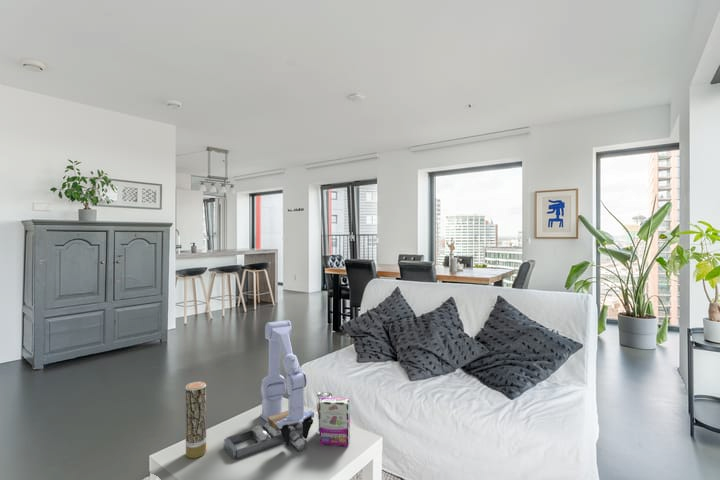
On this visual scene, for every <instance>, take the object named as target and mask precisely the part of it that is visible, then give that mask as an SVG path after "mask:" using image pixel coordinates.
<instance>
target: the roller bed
mask: <svg viewBox="0 0 720 480" xmlns="http://www.w3.org/2000/svg"><path fill="white" fill-rule="evenodd" d="M289 429H290V430H291V431H290V432H292V431H296V432H297V433H298V434H299V435H300V436H301V437H303V426H302V423H298V424H296V425H293V426H290V427H289ZM252 438H254V440H255V441H257V442H255V443H251V445H250V444H249V445H247V446H244V447H242V448H237V447H236V446H235V444H238V443H240V442H244V441H247V440H250V439H252ZM283 443H285V442H284V437H283V435H282V432H281V430H278V431H277V430H276V429H275V428H274V427H273V426H271V425H270V424H269V423H268V422H267V421H266V423H265V424H263V425H259V424H258V425H255V426H254V427H253V428H251V429H248V430H244V431H242V432H238V433H235V434H233V435H229V436H227V437H226V438H224V439H223V447H224V449H225V451H226V452H227V454H228V455H229V456H230V457H231V459H232V460H240V459H243V458H245V457H247V456H251V455H253V454H256V453H259V452H261V451H264V450H268V449H270V448H272V447H275V446H277V445H281V444H283Z"/></svg>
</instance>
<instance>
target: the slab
mask: <svg viewBox="0 0 720 480" xmlns="http://www.w3.org/2000/svg"><path fill="white" fill-rule="evenodd" d="M287 416H288V410H286V411H282V413H279V414H276V415H273V416H270V417H268V423H269V424H270V425H271V426H273V427H274V428H275V429H276V430H277V431H278V430H280V429H279V428H278V427H277V422H278V421H280V420H282V419H284V418H286V417H287ZM296 424H298V423H293V424H290V425H288V427H290V426H293V425H296Z"/></svg>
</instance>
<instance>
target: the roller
mask: <svg viewBox="0 0 720 480" xmlns="http://www.w3.org/2000/svg"><path fill="white" fill-rule="evenodd" d="M289 444H291V445H292V446H294V447H295V448H296V450H298V451H299V452H302V451H305V450H306V449H307V447H308V441H307V439H305V438H304V437H303V436H300V435H299V434H298V433H297V432H296V431H292V432H290V436H289Z"/></svg>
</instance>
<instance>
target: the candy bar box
mask: <svg viewBox="0 0 720 480" xmlns="http://www.w3.org/2000/svg"><path fill="white" fill-rule="evenodd" d="M350 401H351V400H350V398H347V397H346V398H345V397H344V398H343V397H333V398H324V397H322V399H321V401H320V403H319V405H320V406H319V408H320V435H319V445H320V446H329V447H330V446H332V447H349V444H350V442H351V417H350V415H351V405H350Z"/></svg>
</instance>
